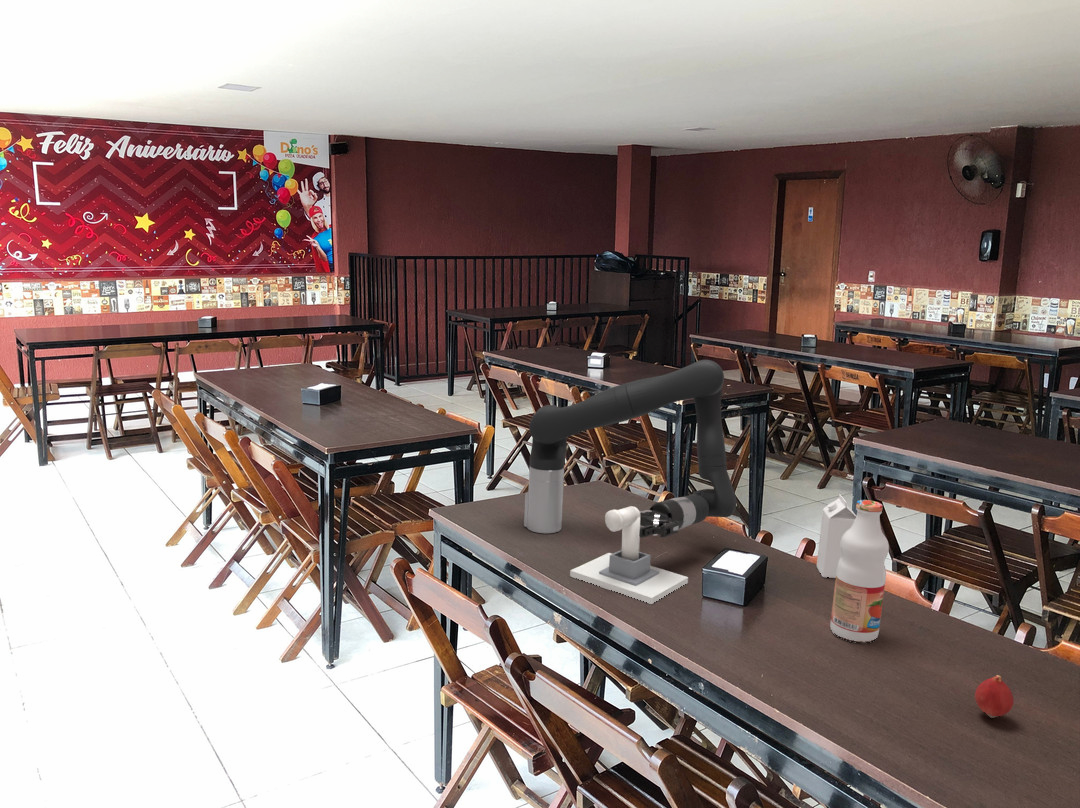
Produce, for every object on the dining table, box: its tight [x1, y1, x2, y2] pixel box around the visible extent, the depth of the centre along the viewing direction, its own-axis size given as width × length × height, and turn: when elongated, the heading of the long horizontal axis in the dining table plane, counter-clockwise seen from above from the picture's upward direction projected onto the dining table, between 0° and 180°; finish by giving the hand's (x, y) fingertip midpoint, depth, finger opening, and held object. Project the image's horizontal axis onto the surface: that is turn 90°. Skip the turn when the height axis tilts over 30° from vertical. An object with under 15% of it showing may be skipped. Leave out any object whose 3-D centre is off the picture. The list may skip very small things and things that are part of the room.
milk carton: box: [816, 493, 857, 579], centre depth 209 cm, size 7×7×19 cm
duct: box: [569, 549, 689, 605], centre depth 201 cm, size 22×16×6 cm
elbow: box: [604, 505, 641, 561], centre depth 198 cm, size 8×5×16 cm, turn 131°
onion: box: [974, 674, 1015, 717], centre depth 148 cm, size 6×6×8 cm
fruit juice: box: [829, 499, 890, 642], centre depth 176 cm, size 9×9×28 cm
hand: (626, 527), depth 198 cm, fingers open, 8 cm apart
